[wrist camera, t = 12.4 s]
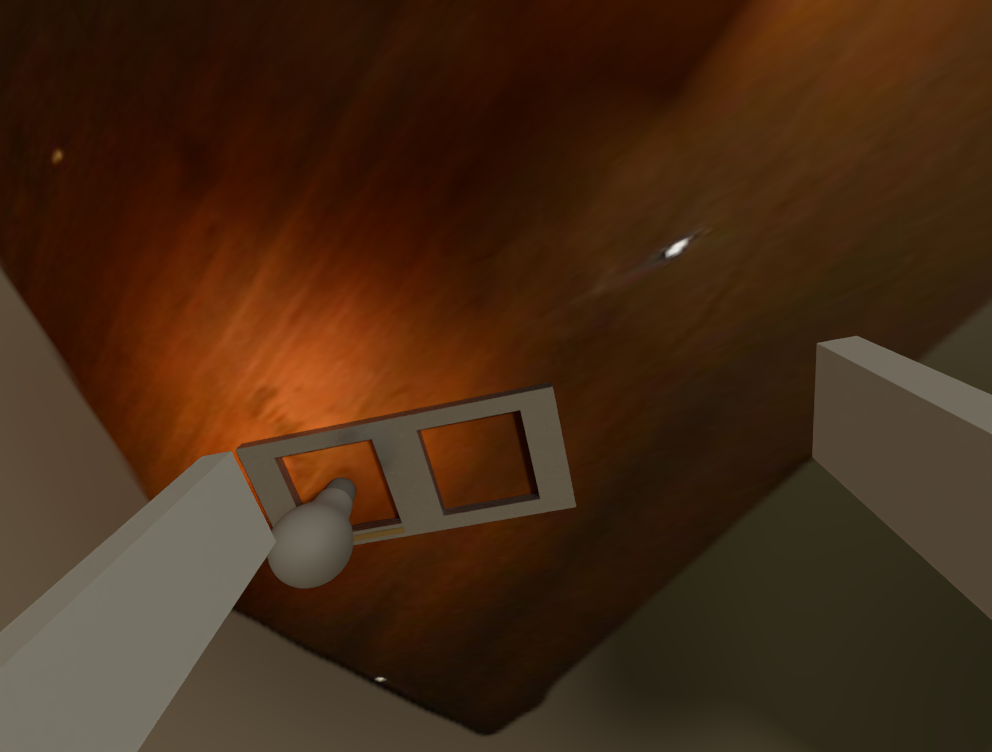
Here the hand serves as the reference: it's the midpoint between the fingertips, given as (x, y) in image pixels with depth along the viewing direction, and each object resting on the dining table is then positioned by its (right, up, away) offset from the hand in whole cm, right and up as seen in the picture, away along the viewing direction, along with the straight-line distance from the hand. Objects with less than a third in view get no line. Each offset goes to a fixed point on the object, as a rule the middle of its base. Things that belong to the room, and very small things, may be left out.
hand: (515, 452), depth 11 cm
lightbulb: (-14, -8, +32) cm, 36 cm away
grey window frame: (-8, -7, +32) cm, 33 cm away
